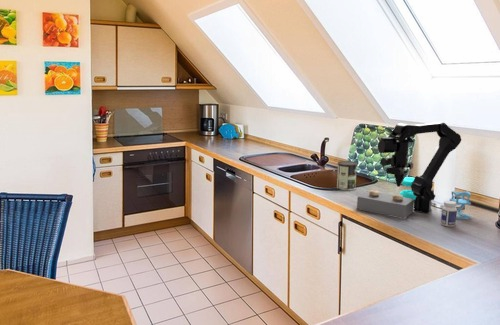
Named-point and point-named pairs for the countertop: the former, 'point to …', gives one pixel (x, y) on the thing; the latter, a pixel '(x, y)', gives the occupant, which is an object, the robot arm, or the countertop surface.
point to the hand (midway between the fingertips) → (398, 186)
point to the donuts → (408, 183)
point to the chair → (461, 202)
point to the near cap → (397, 197)
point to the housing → (385, 205)
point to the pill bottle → (449, 214)
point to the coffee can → (346, 175)
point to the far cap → (374, 193)
